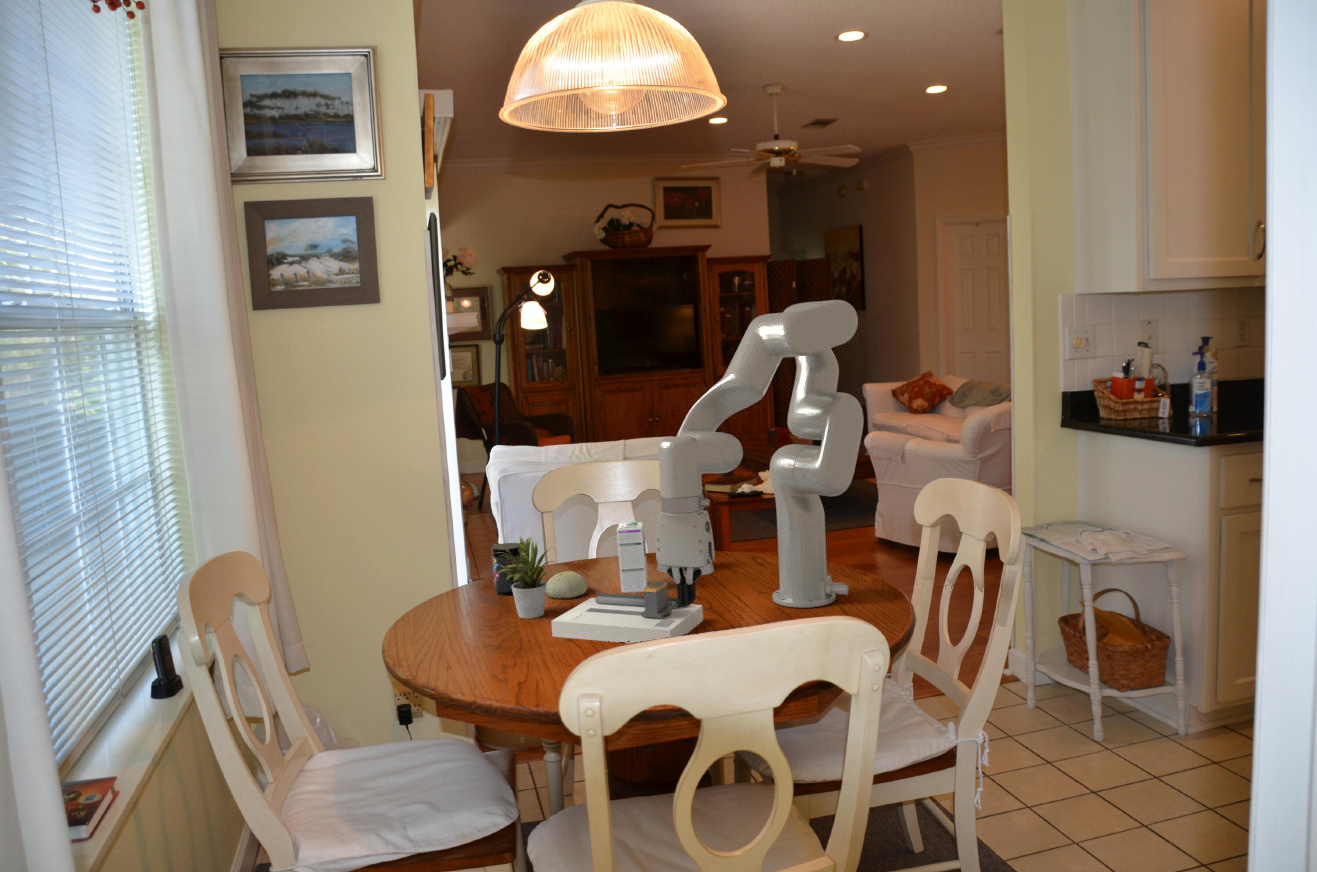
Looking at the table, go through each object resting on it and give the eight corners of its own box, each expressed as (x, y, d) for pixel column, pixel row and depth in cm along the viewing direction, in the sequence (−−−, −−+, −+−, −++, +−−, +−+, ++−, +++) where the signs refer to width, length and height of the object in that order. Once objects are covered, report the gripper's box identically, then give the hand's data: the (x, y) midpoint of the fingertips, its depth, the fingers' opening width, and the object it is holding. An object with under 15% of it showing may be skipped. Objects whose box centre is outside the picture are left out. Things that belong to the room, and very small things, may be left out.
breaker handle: (672, 610, 175) (670, 582, 174) (661, 618, 170) (659, 589, 170) (652, 608, 176) (651, 581, 176) (641, 616, 172) (639, 588, 171)
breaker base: (703, 620, 178) (701, 596, 178) (670, 646, 164) (669, 621, 163) (592, 612, 188) (590, 589, 188) (552, 636, 174) (550, 612, 173)
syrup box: (647, 592, 201) (643, 526, 200) (620, 593, 201) (616, 527, 200) (648, 585, 207) (644, 521, 205) (621, 586, 207) (618, 522, 206)
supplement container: (510, 586, 212) (507, 541, 211) (531, 589, 208) (528, 544, 207) (488, 593, 207) (485, 547, 206) (509, 597, 203) (506, 550, 202)
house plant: (485, 610, 194) (479, 533, 192) (549, 600, 199) (544, 524, 197) (501, 628, 180) (495, 545, 179) (569, 616, 186) (564, 536, 184)
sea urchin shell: (535, 591, 199) (546, 559, 204) (549, 609, 205) (560, 578, 210) (573, 593, 196) (583, 561, 201) (586, 612, 202) (596, 580, 206)
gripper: (727, 501, 169) (732, 600, 171) (652, 500, 175) (657, 595, 177) (713, 509, 162) (718, 612, 164) (635, 507, 168) (641, 606, 170)
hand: (687, 603), depth 170 cm, fingers closed
